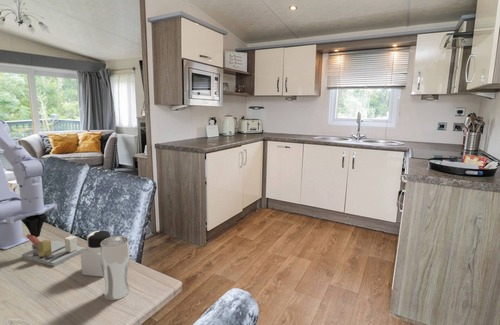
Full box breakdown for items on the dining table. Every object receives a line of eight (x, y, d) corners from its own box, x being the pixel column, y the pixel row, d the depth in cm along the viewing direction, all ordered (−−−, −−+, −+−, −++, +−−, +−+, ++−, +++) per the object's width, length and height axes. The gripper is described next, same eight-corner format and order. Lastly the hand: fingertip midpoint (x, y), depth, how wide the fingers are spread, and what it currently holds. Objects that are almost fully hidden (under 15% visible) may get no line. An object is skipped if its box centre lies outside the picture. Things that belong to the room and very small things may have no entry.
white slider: (65, 250, 91) (64, 238, 90) (72, 247, 93) (71, 235, 93) (70, 252, 90) (69, 239, 90) (77, 248, 93) (76, 236, 92)
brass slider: (38, 255, 87) (37, 243, 86) (46, 252, 89) (45, 239, 89) (44, 257, 86) (43, 244, 86) (51, 253, 89) (50, 241, 88)
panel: (20, 257, 89) (19, 249, 88) (53, 242, 99) (53, 235, 99) (54, 266, 84) (53, 258, 84) (85, 250, 95) (84, 243, 94)
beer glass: (136, 288, 76) (135, 238, 73) (116, 304, 69) (114, 249, 67) (116, 282, 78) (114, 233, 75) (96, 297, 71) (93, 244, 69)
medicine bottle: (118, 264, 87) (116, 229, 85) (104, 277, 80) (102, 239, 78) (97, 262, 88) (95, 227, 86) (81, 275, 81) (78, 237, 79)
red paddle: (36, 248, 92) (24, 236, 88) (39, 245, 93) (27, 233, 89) (44, 250, 91) (32, 238, 87) (47, 247, 92) (35, 235, 88)
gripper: (15, 205, 80) (19, 248, 82) (62, 192, 93) (65, 230, 96) (-1, 202, 82) (3, 244, 84) (47, 190, 95) (50, 226, 98)
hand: (35, 236), depth 90 cm, fingers closed
